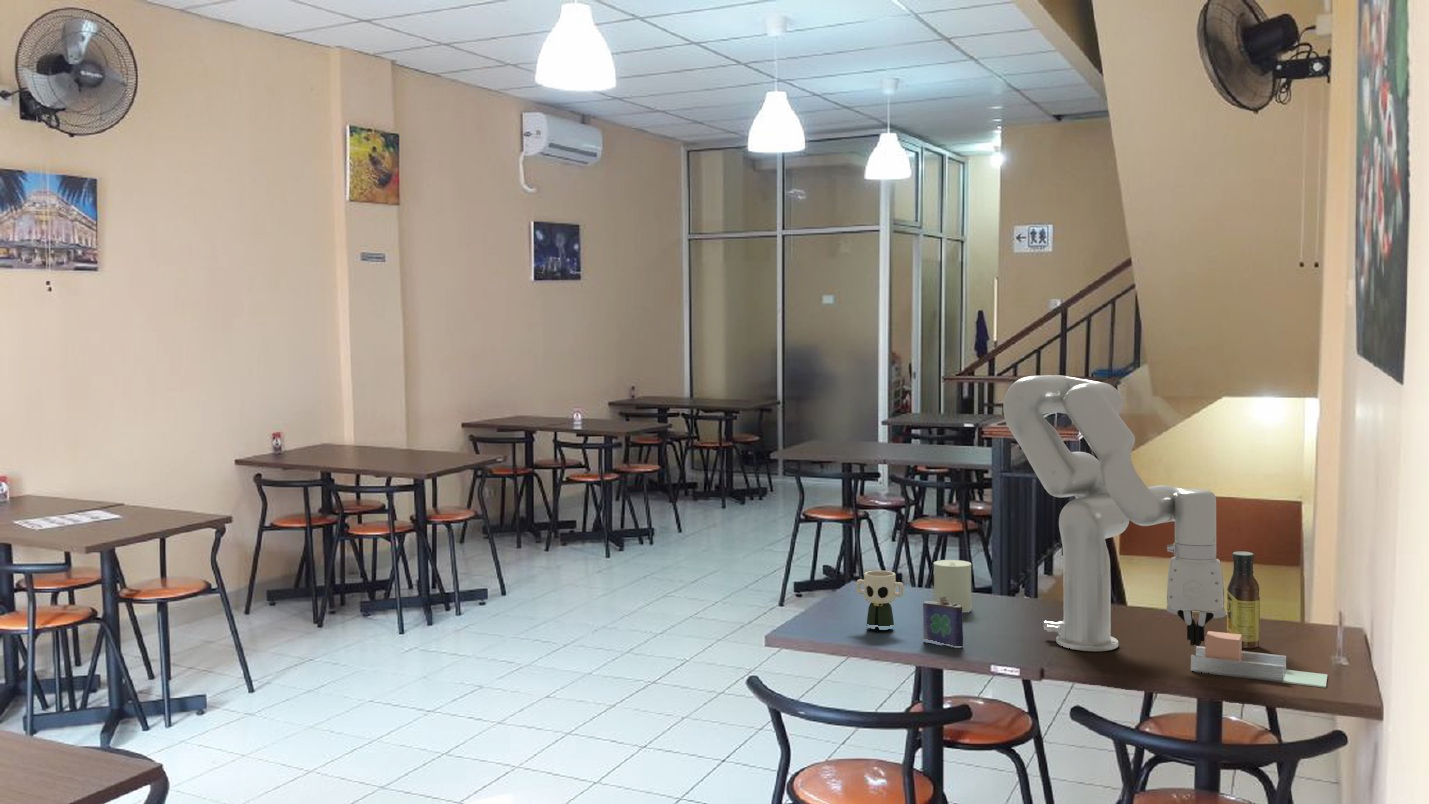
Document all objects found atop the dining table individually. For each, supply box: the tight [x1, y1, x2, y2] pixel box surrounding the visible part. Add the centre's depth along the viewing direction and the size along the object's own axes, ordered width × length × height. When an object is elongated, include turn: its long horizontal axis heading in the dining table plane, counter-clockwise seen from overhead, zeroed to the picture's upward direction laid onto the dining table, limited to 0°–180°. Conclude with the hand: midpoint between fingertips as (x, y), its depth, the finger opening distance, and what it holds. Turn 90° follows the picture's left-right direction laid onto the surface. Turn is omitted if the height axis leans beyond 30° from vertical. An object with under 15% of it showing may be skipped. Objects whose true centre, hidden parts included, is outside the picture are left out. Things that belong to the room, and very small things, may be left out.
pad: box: [1283, 669, 1328, 689], centre depth 207 cm, size 7×9×1 cm
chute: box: [1190, 645, 1287, 684], centre depth 213 cm, size 16×9×3 cm, turn 59°
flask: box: [922, 595, 964, 647], centre depth 236 cm, size 9×3×11 cm, turn 50°
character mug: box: [856, 570, 904, 626], centre depth 250 cm, size 11×7×13 cm, turn 65°
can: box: [933, 559, 973, 611], centre depth 269 cm, size 9×9×12 cm
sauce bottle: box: [1226, 550, 1261, 650], centre depth 231 cm, size 6×6×20 cm
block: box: [1204, 630, 1243, 660], centre depth 214 cm, size 6×5×6 cm
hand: (1195, 644), depth 217 cm, fingers closed
